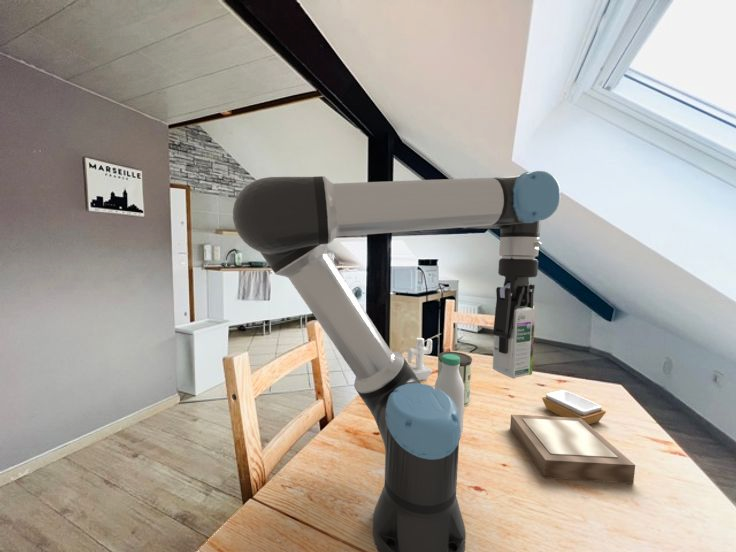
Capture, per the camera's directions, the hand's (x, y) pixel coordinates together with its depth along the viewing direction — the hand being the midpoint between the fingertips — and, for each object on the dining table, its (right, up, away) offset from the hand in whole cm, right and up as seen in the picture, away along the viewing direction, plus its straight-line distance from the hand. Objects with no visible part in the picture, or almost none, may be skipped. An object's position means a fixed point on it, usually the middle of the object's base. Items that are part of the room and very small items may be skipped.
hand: (512, 362), depth 68 cm
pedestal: (+15, -23, +6) cm, 28 cm away
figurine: (-13, -19, +47) cm, 53 cm away
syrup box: (0, -2, 0) cm, 2 cm away
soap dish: (+28, -22, +23) cm, 43 cm away
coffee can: (-5, -21, +31) cm, 37 cm away
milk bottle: (-10, -22, +14) cm, 28 cm away
